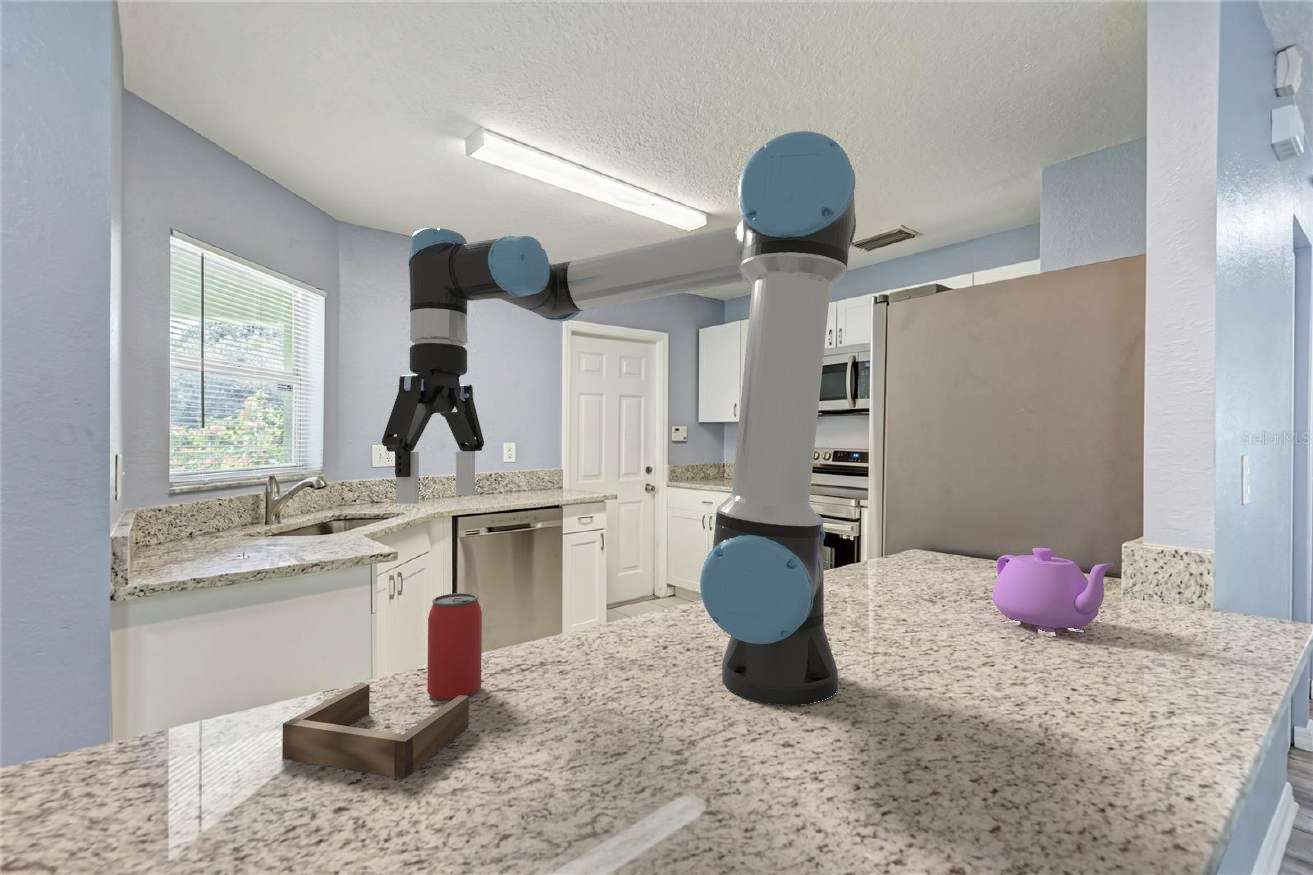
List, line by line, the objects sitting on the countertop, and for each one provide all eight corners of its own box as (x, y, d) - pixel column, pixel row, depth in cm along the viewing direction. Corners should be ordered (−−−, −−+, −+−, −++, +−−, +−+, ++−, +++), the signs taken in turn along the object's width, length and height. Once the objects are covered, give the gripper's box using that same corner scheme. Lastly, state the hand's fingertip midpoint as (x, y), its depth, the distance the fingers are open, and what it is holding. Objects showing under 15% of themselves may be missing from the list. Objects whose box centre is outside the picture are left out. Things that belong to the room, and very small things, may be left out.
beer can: (465, 705, 73) (465, 606, 73) (416, 700, 74) (417, 603, 75) (490, 684, 80) (491, 593, 80) (445, 680, 81) (446, 590, 81)
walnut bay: (468, 727, 67) (468, 696, 67) (404, 779, 57) (405, 741, 57) (360, 712, 71) (361, 682, 71) (282, 758, 61) (282, 723, 61)
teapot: (1148, 643, 97) (1147, 558, 97) (1077, 653, 92) (1076, 563, 92) (1026, 608, 118) (1025, 538, 118) (963, 615, 113) (962, 541, 113)
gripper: (463, 359, 96) (463, 492, 96) (350, 329, 72) (349, 507, 72) (506, 357, 94) (506, 492, 94) (405, 326, 70) (404, 508, 70)
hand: (438, 499), depth 83 cm, fingers open, 13 cm apart
